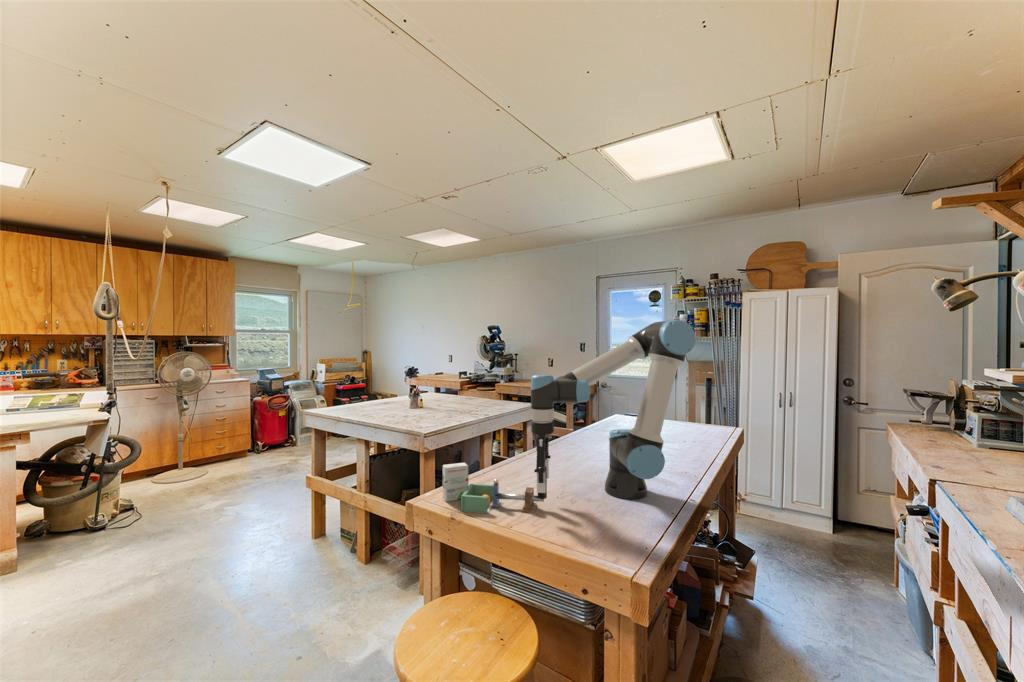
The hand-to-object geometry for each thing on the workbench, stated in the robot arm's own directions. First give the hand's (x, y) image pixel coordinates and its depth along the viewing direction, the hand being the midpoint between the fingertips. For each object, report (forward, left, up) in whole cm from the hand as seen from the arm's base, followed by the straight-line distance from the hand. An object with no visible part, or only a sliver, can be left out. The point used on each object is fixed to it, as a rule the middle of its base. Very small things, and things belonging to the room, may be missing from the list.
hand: (543, 484), depth 130 cm
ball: (+20, 0, -6) cm, 21 cm away
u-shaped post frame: (+8, 0, -8) cm, 11 cm away
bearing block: (+5, 0, -8) cm, 9 cm away
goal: (+23, 0, -8) cm, 24 cm away
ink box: (+32, -5, -8) cm, 33 cm away
